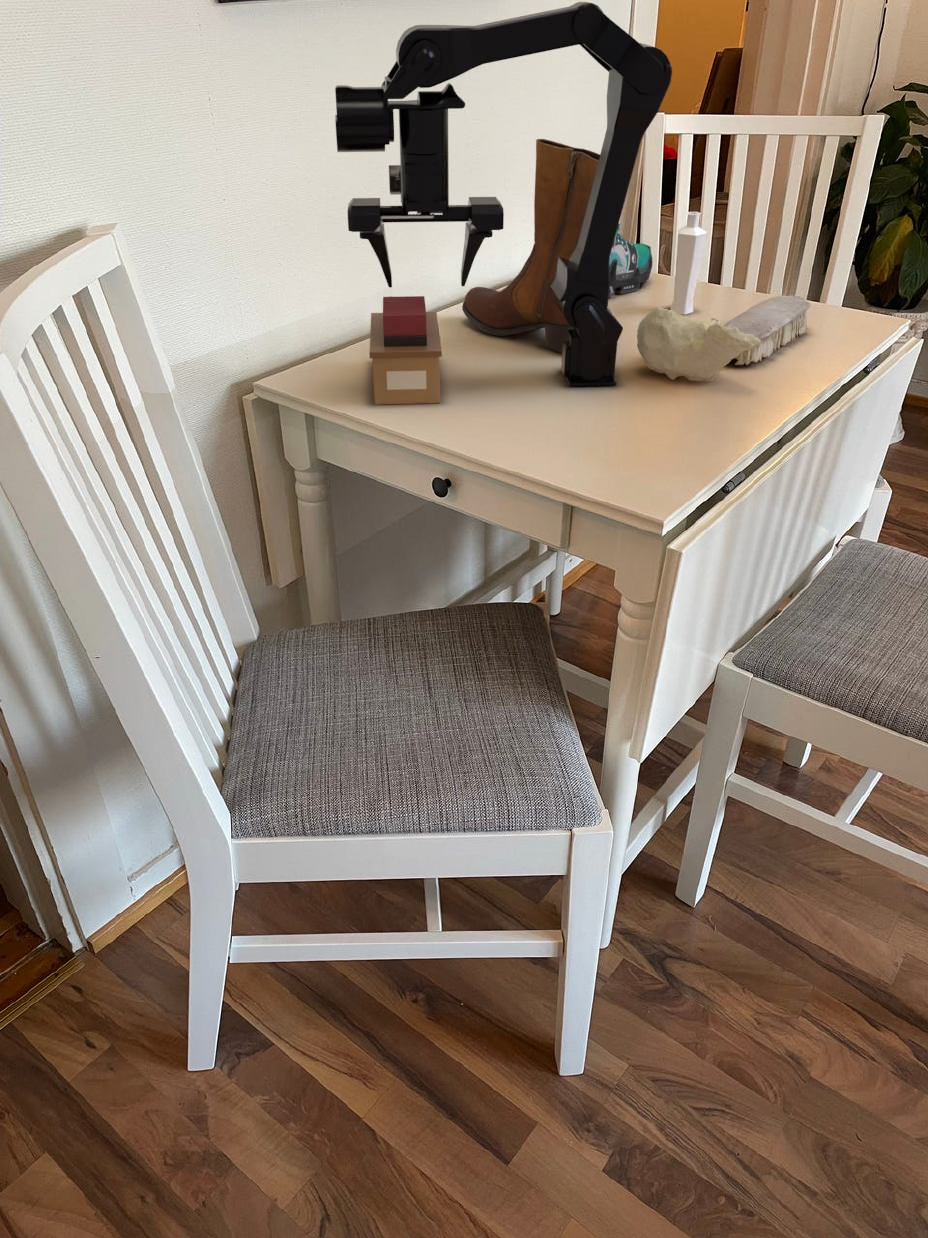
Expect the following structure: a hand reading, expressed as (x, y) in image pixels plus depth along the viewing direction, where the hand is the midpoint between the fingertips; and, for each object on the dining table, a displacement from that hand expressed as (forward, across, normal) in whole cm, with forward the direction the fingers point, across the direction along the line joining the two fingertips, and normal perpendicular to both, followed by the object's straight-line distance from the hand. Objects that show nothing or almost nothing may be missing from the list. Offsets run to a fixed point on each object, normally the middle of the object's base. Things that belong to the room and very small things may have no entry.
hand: (426, 285), depth 122 cm
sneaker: (+13, -32, -43) cm, 55 cm away
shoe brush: (+13, -50, -13) cm, 53 cm away
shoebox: (+13, +3, -1) cm, 13 cm away
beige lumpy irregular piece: (+13, -37, -1) cm, 39 cm away
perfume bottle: (+13, -42, -30) cm, 53 cm away
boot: (+13, -16, -19) cm, 28 cm away
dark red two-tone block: (+6, +3, -1) cm, 7 cm away
